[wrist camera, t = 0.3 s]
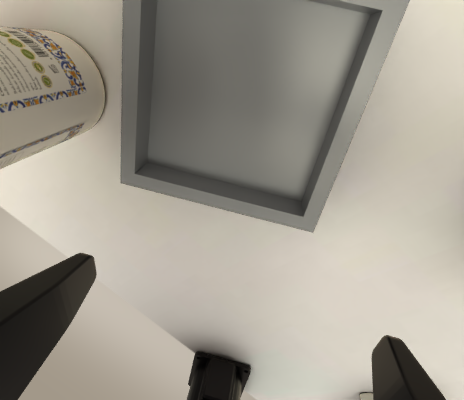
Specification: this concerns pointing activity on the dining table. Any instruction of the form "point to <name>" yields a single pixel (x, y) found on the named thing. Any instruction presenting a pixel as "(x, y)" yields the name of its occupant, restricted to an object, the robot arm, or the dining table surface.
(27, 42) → the bath foam
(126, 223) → the dining table surface
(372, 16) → the grey square tray
